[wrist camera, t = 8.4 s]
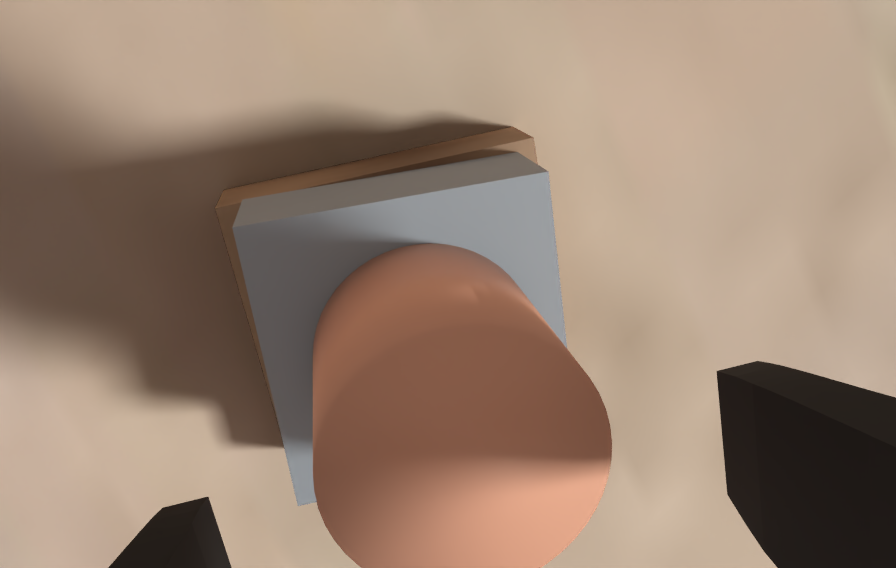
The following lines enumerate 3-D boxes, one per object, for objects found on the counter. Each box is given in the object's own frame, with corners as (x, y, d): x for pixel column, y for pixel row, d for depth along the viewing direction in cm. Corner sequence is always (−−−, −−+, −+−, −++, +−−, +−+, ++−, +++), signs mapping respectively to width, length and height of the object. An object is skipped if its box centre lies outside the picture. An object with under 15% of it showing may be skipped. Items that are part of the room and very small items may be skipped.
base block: (298, 438, 22) (297, 488, 20) (226, 185, 20) (215, 208, 18) (549, 376, 23) (577, 417, 20) (507, 123, 20) (533, 137, 18)
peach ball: (347, 478, 17) (358, 629, 13) (284, 277, 16) (273, 373, 11) (554, 419, 17) (631, 547, 13) (512, 217, 16) (584, 288, 12)
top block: (299, 447, 19) (298, 505, 17) (242, 199, 18) (232, 227, 15) (546, 396, 20) (576, 446, 18) (517, 151, 18) (548, 171, 16)
